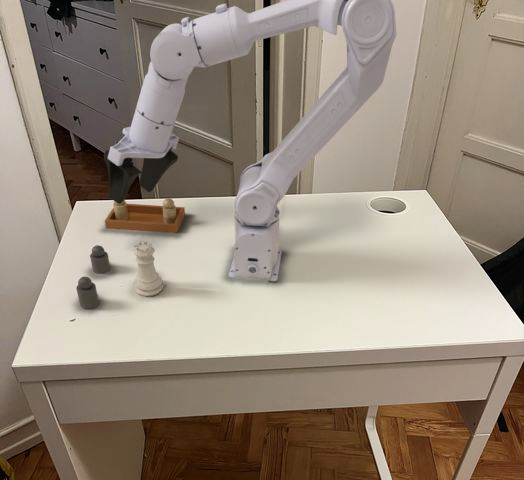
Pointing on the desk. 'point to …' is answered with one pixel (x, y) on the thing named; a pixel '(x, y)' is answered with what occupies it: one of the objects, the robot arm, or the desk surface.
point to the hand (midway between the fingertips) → (130, 194)
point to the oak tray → (145, 219)
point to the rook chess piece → (146, 271)
